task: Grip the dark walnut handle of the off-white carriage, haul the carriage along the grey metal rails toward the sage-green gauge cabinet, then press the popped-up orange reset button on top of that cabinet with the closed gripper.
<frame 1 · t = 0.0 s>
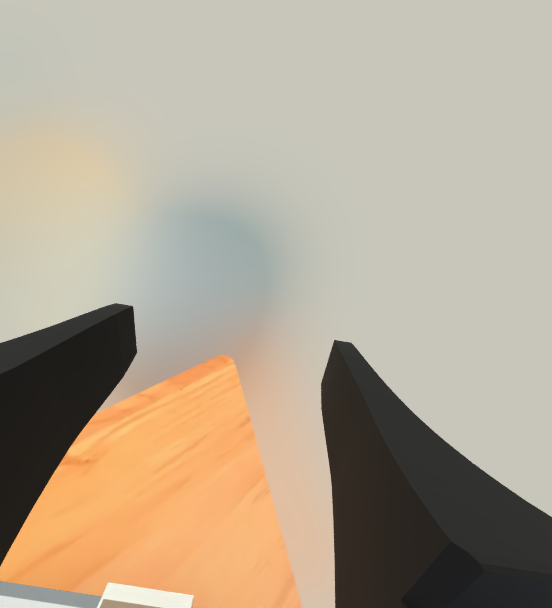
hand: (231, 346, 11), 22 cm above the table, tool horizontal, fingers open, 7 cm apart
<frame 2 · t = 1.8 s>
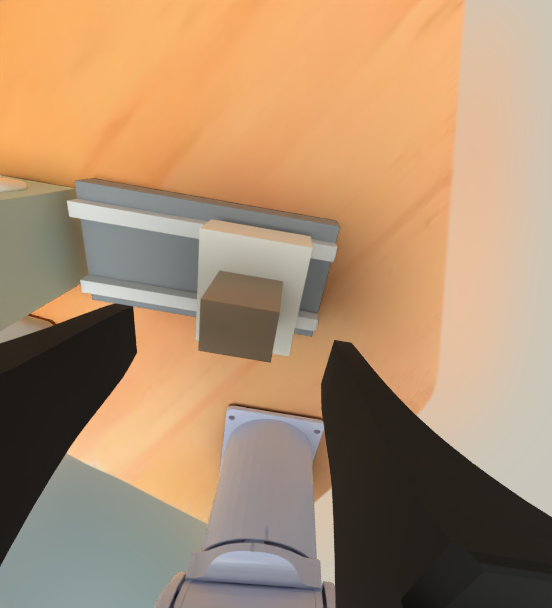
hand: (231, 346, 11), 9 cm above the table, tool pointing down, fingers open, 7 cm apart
gauge cabinet: (43, 229, 18), on the table
rail track: (211, 258, 18), on the table
flask: (41, 350, 23), on the table
carriage: (247, 303, 14), point 5 cm above the table, slide at 0.0 cm
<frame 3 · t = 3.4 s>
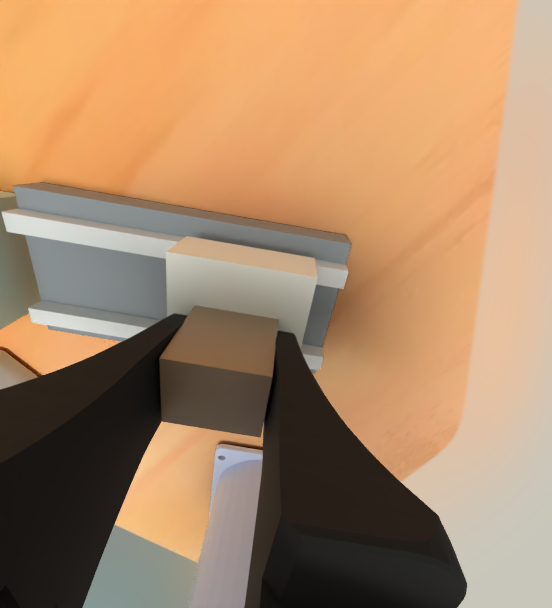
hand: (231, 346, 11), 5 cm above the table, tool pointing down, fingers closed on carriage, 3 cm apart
rail track: (193, 279, 15), on the table
carriage: (231, 347, 10), point 5 cm above the table, slide at 0.0 cm, touching gripper
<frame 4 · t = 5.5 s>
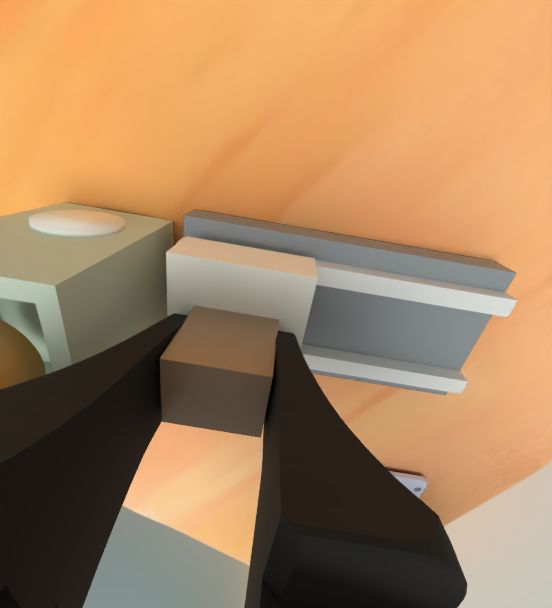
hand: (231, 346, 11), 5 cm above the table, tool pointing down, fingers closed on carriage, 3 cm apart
gauge cabinet: (125, 267, 15), on the table
rail track: (328, 302, 15), on the table
carriage: (231, 348, 10), point 5 cm above the table, slide at 7.0 cm, touching gripper
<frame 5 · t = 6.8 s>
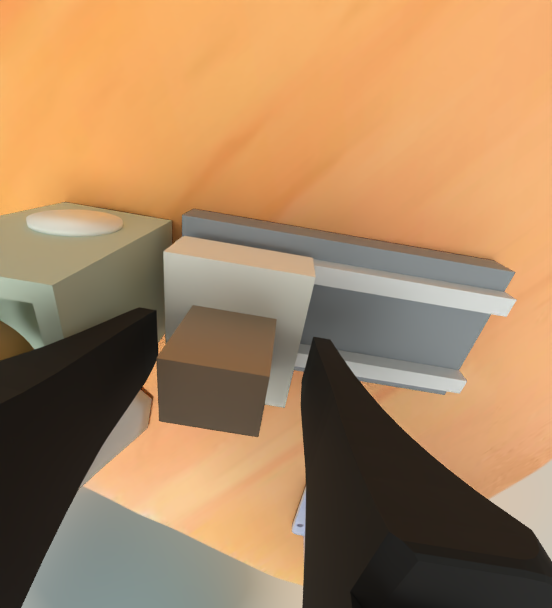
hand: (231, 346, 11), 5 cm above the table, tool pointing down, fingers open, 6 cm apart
gauge cabinet: (123, 267, 15), on the table
rail track: (326, 301, 15), on the table
flask: (102, 398, 20), on the table
carriage: (229, 347, 10), point 5 cm above the table, slide at 7.0 cm
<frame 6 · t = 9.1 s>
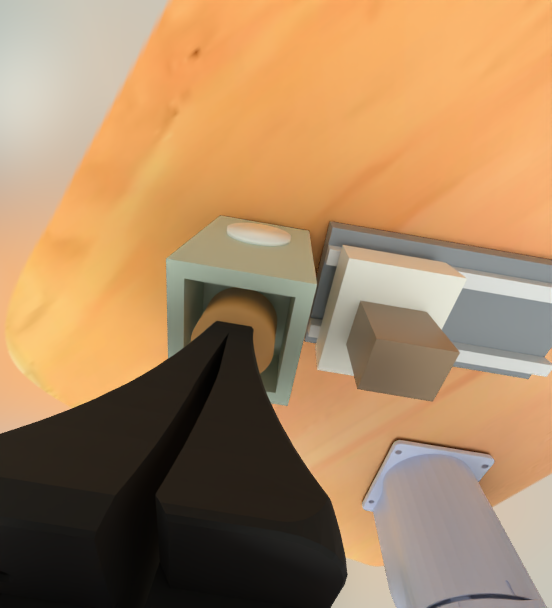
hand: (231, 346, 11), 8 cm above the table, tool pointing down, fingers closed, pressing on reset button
gauge cabinet: (258, 269, 17), on the table
rail track: (429, 299, 18), on the table
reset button: (237, 332, 11), point 7 cm above the table, slide at 1.4 cm, touching gripper
carriage: (387, 334, 13), point 5 cm above the table, slide at 7.0 cm
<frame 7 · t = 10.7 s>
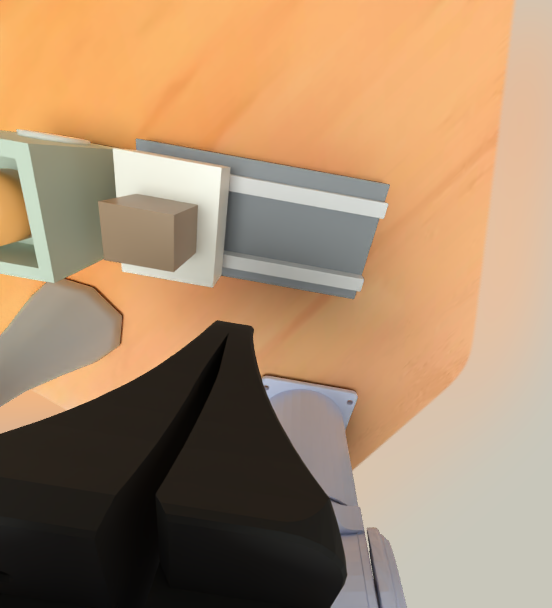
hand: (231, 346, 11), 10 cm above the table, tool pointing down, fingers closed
gauge cabinet: (96, 192, 19), on the table
rail track: (258, 221, 19), on the table
flask: (81, 318, 23), on the table
carriage: (163, 226, 14), point 5 cm above the table, slide at 7.0 cm
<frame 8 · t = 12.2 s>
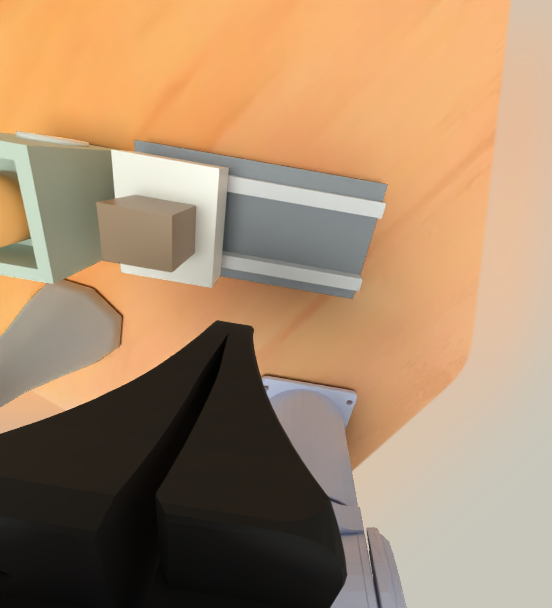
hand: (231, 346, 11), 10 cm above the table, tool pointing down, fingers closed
gauge cabinet: (95, 193, 19), on the table
rail track: (256, 222, 19), on the table
flask: (81, 319, 23), on the table
carriage: (161, 226, 14), point 5 cm above the table, slide at 7.0 cm
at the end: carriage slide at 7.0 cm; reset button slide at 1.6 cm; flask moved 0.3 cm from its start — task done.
